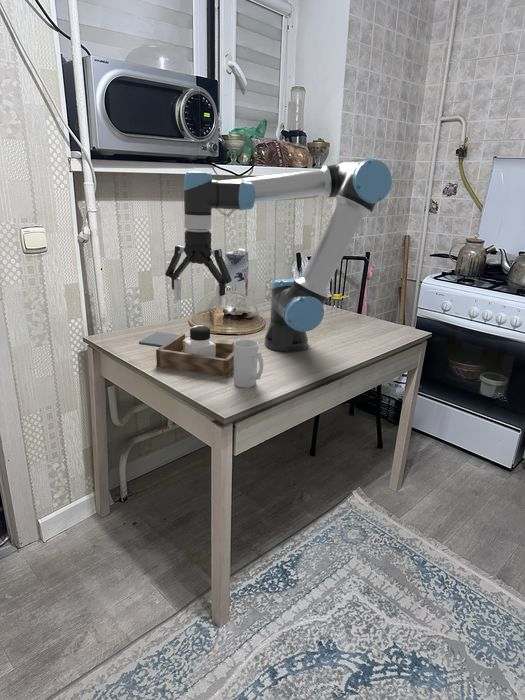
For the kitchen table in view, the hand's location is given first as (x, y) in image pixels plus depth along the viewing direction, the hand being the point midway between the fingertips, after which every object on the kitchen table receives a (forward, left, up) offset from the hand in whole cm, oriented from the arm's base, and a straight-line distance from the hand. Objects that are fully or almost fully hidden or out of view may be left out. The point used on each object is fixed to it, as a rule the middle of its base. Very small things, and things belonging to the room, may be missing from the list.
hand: (198, 303), depth 141 cm
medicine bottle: (-1, +1, -19) cm, 19 cm away
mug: (-20, +10, -19) cm, 29 cm away
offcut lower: (-6, -6, -19) cm, 21 cm away
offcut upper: (-6, -6, -16) cm, 18 cm away
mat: (+19, -14, -19) cm, 31 cm away
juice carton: (+9, -57, -19) cm, 61 cm away
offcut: (+4, -6, -19) cm, 21 cm away
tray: (-1, -1, -19) cm, 19 cm away
